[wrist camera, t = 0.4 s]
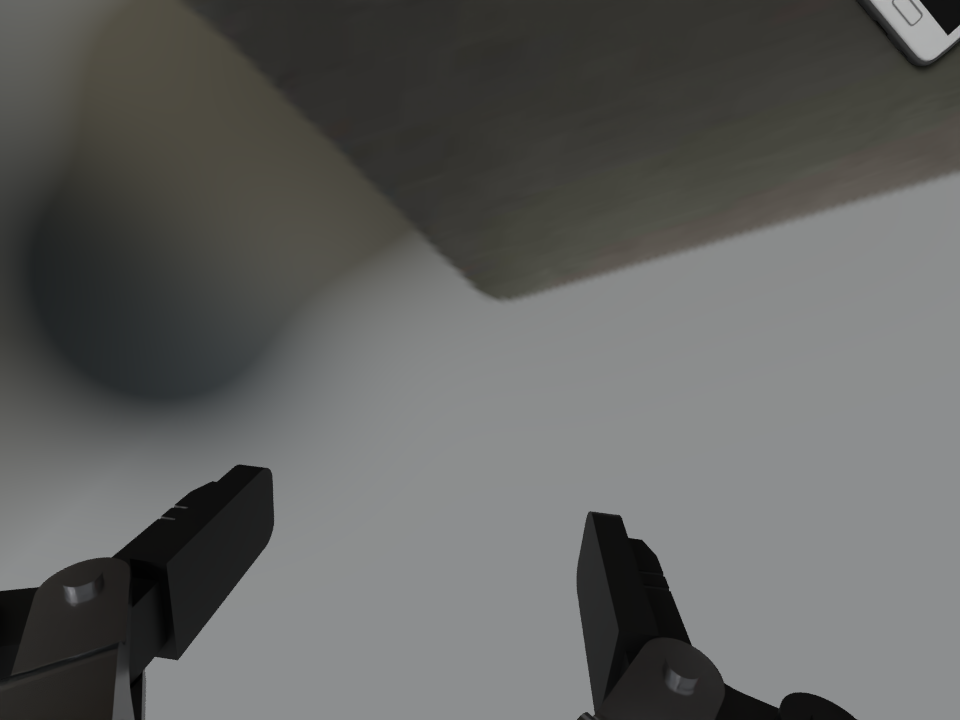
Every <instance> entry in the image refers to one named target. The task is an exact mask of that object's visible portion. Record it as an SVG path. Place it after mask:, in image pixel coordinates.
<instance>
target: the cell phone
mask: <svg viewBox="0 0 960 720" xmlns="http://www.w3.org/2000/svg"><path fill="white" fill-rule="evenodd" d="M857 1H858V3H859V4H860V5H862V6H863V8H864V9H865V10H866V12H867V13H868V14H869V16H870V17H871V18H872V19H873V20H877V21H878V23H879V24H880V25H881V26H882V27H883V29H884V30H885V31H886V32H887V33H888V34H887V35H886V36H887V37H888V38H889V39H890V40H891V42H892V43H893V44H894V45H895V46H896V48H897V49H898V50H899V51H900V52H901V53H902V52H903V53H904V54H905V55H906V56H907V57H906V56H905V55H904V54H903V53H902V55H903V56H904V57H905V58H906V59H907V60H908V61H909V62H910V63H912V64H913V65H917V66H927V65H930V64H931V63H933V62H934V61H936V60H937V59H939V58H940V57H941V56H942V55H944V54H945V53H946V52H948V51H949V50H950V49H951V48H952V47H953V46H954V45H955V44H957V43H958V42H959V41H960V0H857ZM901 50H902V51H901Z"/></svg>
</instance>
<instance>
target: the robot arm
mask: <svg viewBox="0 0 960 720" xmlns="http://www.w3.org/2000/svg"><path fill="white" fill-rule="evenodd" d="M273 526H274V507H273V481H272V473H271V470H270V469H268V468H263V467H254V466H246V465H237V466H235V467H234V468H232V469H231V470H230V471H229V472H228V473H227V474H226V475H224V476H223V477H222V478H221V479H220V480H219V481H217V482H213V481H212V482H210V483H208V484H206V485H204V486H202V487H200V488H197V489H195V490H193V491H191V492H190V493H188V494H187V495H186V496H185V497H184V498H182V499H181V500H180V501H179V502H178V503H176V504H175V506H174V508H171V509H169V510H168V511H167V512H166V513H165V514H163V515H162V517H161V519H157V520H156V521H155V522H154V523H153V524H151V525H150V526H149V527H148V528H147V529H145V530H144V531H143V532H142V533H141V534H140V535H138V536H137V537H136V538H135V539H133V540H132V541H131V542H130V543H129V544H127V545H126V546H125V547H124V548H123V549H121V550H120V551H119V552H118V553H117V554H115V555H114V556H113V557H112V558H110V557H106V558H96V559H90V560H86V561H82V562H79V563H76V564H74V565H71V566H69V567H67V568H64V569H63V570H61V571H59V572H57V573H56V574H54V575H53V576H51V577H50V578H48V579H47V580H46V581H45V582H44V583H43V584H42V585H41V586H40V587H37V588H27V589H16V590H7V591H0V720H145V701H146V698H145V697H146V678H145V677H146V676H145V667H146V666H147V665H148V664H149V663H150V662H151V661H152V659H153V658H154V657H161V658H167V659H173V660H178V659H179V658H180V657H181V656H182V654H183V653H184V652H185V650H186V649H187V648H188V646H189V645H190V644H191V643H192V641H193V640H194V639H195V637H196V636H197V635H198V633H199V632H200V631H201V630H202V628H203V627H204V625H205V624H206V623H207V622H208V621H209V619H210V618H211V617H212V615H213V614H214V613H215V612H216V610H217V609H218V608H219V606H220V605H221V604H222V602H223V601H224V600H225V599H226V597H227V596H228V595H229V594H230V592H231V591H232V590H233V588H234V587H235V586H236V584H237V583H238V582H239V581H240V579H241V578H242V577H243V575H244V574H245V573H246V572H247V570H248V569H249V568H250V566H251V565H252V564H253V563H254V561H255V560H256V559H257V557H258V556H259V555H260V553H261V552H262V551H263V550H264V548H265V547H266V545H267V544H268V542H269V540H270V537H271V534H272V531H273ZM577 594H578V600H579V608H580V615H581V622H582V628H583V635H584V642H585V649H586V656H587V663H588V670H589V677H590V683H591V690H592V696H593V704H594V711H595V715H594V716H593V717H592V716H591V715H590V714H589V713H588V712H585V713H583V714H582V715H581V716H580V717H579V718H578V719H577V720H857V719H855V718H854V717H853V716H852V715H851V714H849V713H848V712H847V711H845V710H844V709H842V708H841V707H839V706H838V705H836V704H834V703H833V702H831V701H829V700H826V699H824V698H822V697H819V696H816V695H813V694H809V693H801V692H800V693H792V694H789V695H787V696H786V697H785V698H784V699H783V700H782V703H781V705H780V708H777V707H774V706H772V705H769V704H767V703H765V702H762V701H760V700H757V699H755V698H753V697H750V696H748V695H745V694H743V693H741V692H739V691H737V690H735V689H733V688H731V687H730V686H728V685H726V684H725V683H724V682H723V679H722V676H721V674H720V673H719V671H718V669H717V668H716V667H715V665H714V664H713V663H712V662H711V660H710V659H709V658H708V657H706V656H705V655H704V654H703V653H702V652H700V651H699V650H698V649H696V648H694V647H693V646H692V645H691V642H690V640H689V637H688V635H687V632H686V629H685V627H684V624H683V622H682V619H681V617H680V615H679V612H678V609H677V607H676V604H675V601H674V599H673V597H672V594H671V592H670V591H669V586H668V584H667V581H666V579H665V577H663V571H662V569H661V566H660V563H659V561H658V558H657V556H656V555H655V554H654V553H653V552H652V551H651V549H650V548H649V547H648V546H647V545H646V544H645V543H644V542H643V541H642V540H639V539H632V538H628V536H627V533H626V530H625V527H624V524H623V521H622V518H621V516H620V515H613V514H606V513H598V512H591V511H590V512H589V513H588V515H587V518H586V523H585V528H584V534H583V540H582V545H581V550H580V555H579V560H578V567H577Z"/></svg>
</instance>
